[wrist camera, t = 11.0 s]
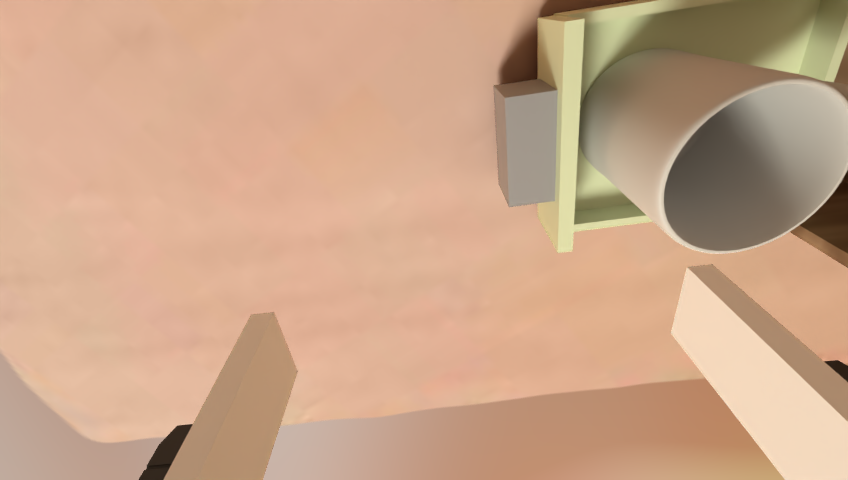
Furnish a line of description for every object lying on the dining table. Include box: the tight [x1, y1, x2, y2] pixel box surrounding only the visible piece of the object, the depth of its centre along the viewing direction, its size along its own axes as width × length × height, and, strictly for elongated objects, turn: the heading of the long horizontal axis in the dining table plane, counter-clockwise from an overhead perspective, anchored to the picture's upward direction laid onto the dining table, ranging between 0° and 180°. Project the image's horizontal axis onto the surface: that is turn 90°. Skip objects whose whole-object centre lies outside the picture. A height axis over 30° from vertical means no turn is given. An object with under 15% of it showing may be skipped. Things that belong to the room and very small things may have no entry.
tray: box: [494, 0, 848, 253], centre depth 26 cm, size 14×20×5 cm
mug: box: [578, 48, 848, 254], centre depth 23 cm, size 12×8×11 cm
